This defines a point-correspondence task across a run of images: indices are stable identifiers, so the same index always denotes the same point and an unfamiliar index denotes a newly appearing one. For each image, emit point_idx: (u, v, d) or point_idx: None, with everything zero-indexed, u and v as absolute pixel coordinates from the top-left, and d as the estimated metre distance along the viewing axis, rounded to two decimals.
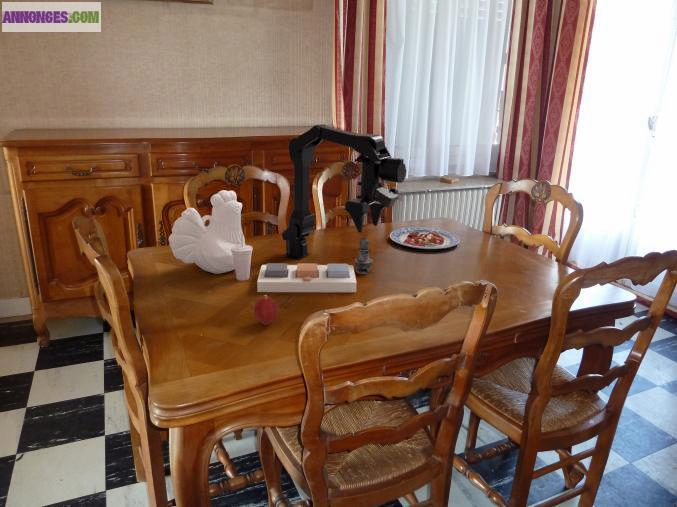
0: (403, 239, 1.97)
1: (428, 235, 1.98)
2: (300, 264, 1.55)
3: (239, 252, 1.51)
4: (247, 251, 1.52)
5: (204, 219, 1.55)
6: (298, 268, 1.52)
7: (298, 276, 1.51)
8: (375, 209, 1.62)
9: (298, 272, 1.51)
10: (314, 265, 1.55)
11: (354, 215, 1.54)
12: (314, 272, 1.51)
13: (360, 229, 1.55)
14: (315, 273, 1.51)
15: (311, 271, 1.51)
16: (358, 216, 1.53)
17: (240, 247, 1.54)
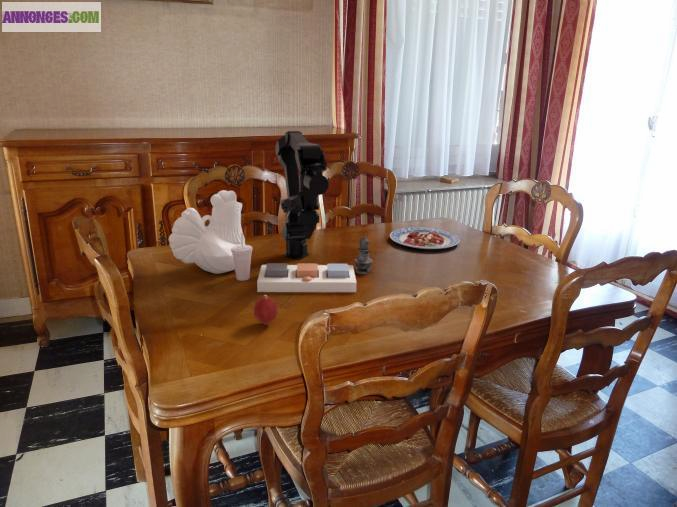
0: (403, 239, 1.97)
1: (428, 235, 1.98)
2: (300, 264, 1.55)
3: (239, 252, 1.51)
4: (247, 251, 1.52)
5: (204, 219, 1.55)
6: (298, 268, 1.52)
7: (298, 276, 1.51)
8: None
9: (298, 272, 1.51)
10: (314, 265, 1.55)
11: None
12: (314, 272, 1.51)
13: None
14: (315, 273, 1.51)
15: (311, 271, 1.51)
16: None
17: (240, 247, 1.54)
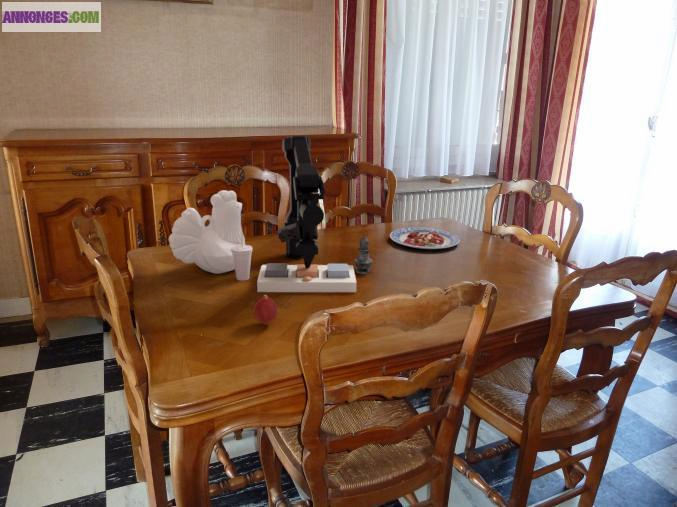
0: (403, 239, 1.97)
1: (428, 235, 1.98)
2: (300, 265, 1.55)
3: (239, 252, 1.51)
4: (247, 251, 1.52)
5: (204, 219, 1.55)
6: (298, 269, 1.52)
7: (298, 277, 1.51)
8: None
9: (298, 273, 1.51)
10: (314, 266, 1.55)
11: None
12: (314, 273, 1.51)
13: None
14: (315, 274, 1.51)
15: (311, 272, 1.51)
16: None
17: (240, 247, 1.54)
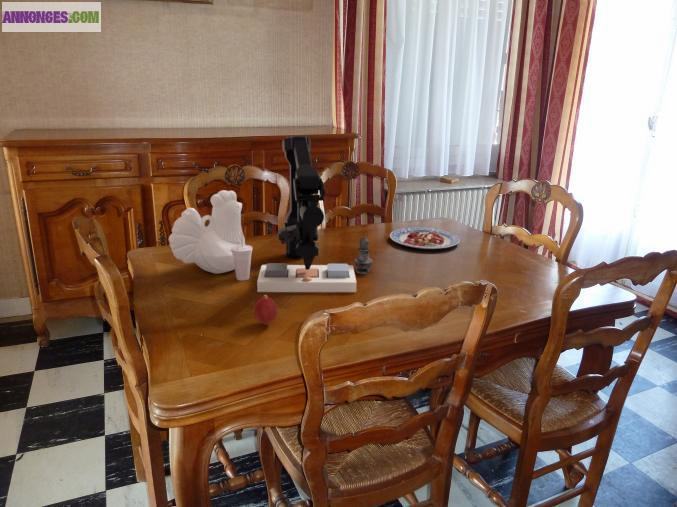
0: (403, 239, 1.97)
1: (428, 235, 1.98)
2: (300, 269, 1.56)
3: (239, 252, 1.51)
4: (247, 251, 1.52)
5: (204, 219, 1.55)
6: (298, 273, 1.53)
7: None
8: None
9: (298, 277, 1.51)
10: (314, 270, 1.55)
11: None
12: None
13: None
14: None
15: (311, 276, 1.51)
16: None
17: (240, 247, 1.54)
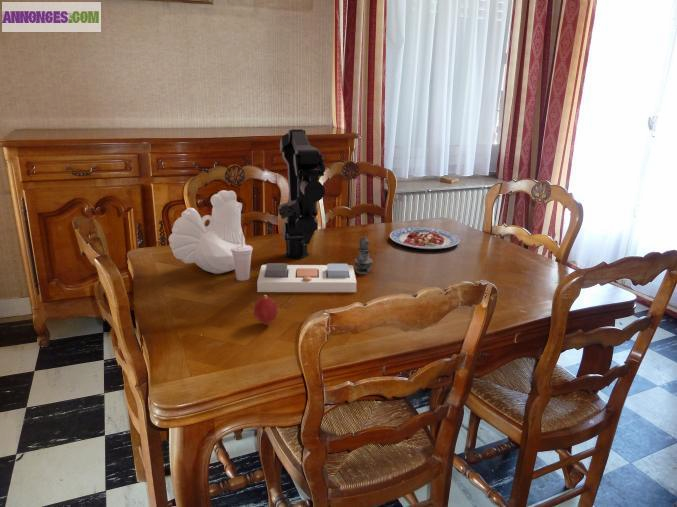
0: (403, 239, 1.97)
1: (428, 235, 1.98)
2: (300, 269, 1.56)
3: (239, 252, 1.51)
4: (247, 251, 1.52)
5: (204, 219, 1.55)
6: (298, 273, 1.53)
7: None
8: None
9: (298, 277, 1.51)
10: (314, 270, 1.55)
11: None
12: None
13: None
14: None
15: (311, 276, 1.51)
16: None
17: (240, 247, 1.54)
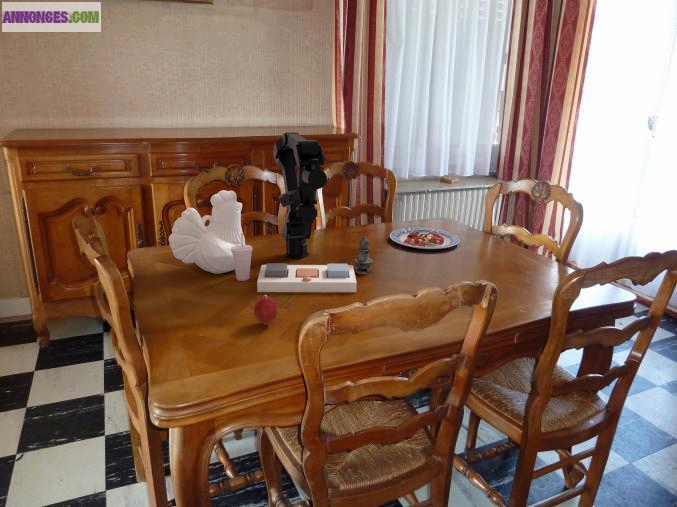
0: (403, 239, 1.97)
1: (428, 235, 1.98)
2: (300, 269, 1.56)
3: (239, 252, 1.51)
4: (247, 251, 1.52)
5: (204, 219, 1.55)
6: (298, 273, 1.53)
7: None
8: None
9: (298, 277, 1.51)
10: (314, 270, 1.55)
11: None
12: None
13: None
14: None
15: (311, 276, 1.51)
16: None
17: (240, 247, 1.54)
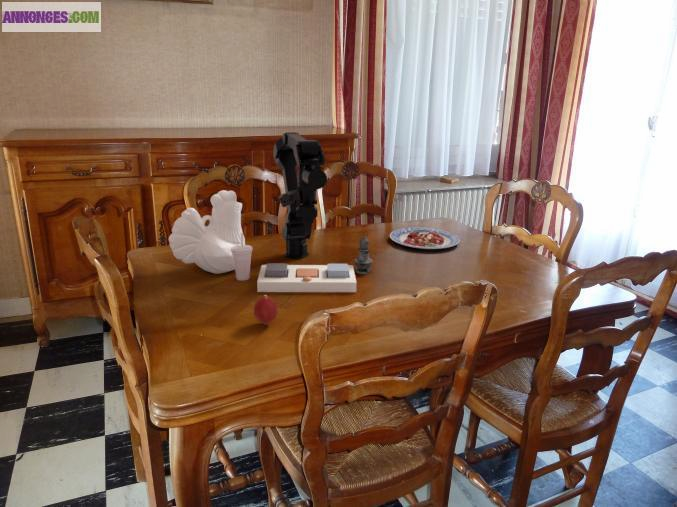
0: (403, 239, 1.97)
1: (428, 235, 1.98)
2: (300, 269, 1.56)
3: (239, 252, 1.51)
4: (247, 251, 1.52)
5: (204, 219, 1.55)
6: (298, 273, 1.53)
7: None
8: None
9: (298, 277, 1.51)
10: (314, 270, 1.55)
11: None
12: None
13: None
14: None
15: (311, 276, 1.51)
16: None
17: (240, 247, 1.54)
